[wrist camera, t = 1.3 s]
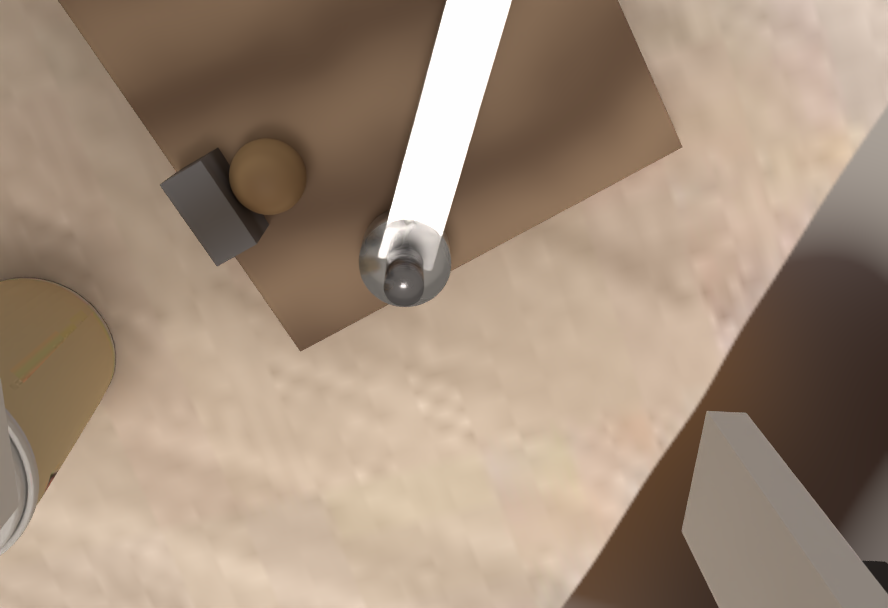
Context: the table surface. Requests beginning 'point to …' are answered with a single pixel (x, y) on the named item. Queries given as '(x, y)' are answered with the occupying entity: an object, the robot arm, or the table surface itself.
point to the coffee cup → (47, 382)
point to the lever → (433, 158)
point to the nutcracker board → (366, 127)
